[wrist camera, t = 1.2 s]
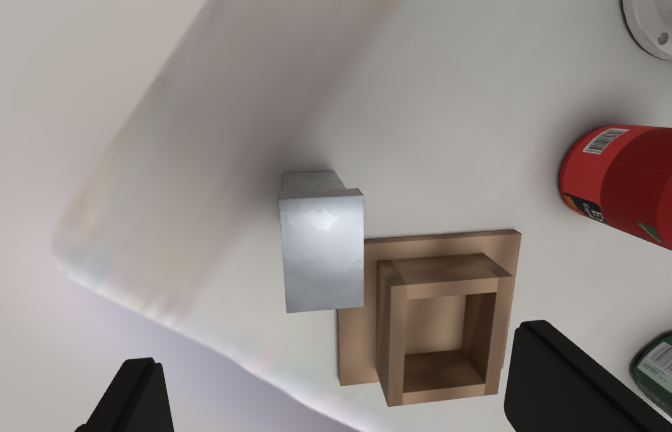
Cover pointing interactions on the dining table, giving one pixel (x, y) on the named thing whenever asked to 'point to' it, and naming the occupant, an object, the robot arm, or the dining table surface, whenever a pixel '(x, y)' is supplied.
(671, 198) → the canned food
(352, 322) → the well block
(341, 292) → the grey boxy piece
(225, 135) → the dining table surface
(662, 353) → the coffee jar
